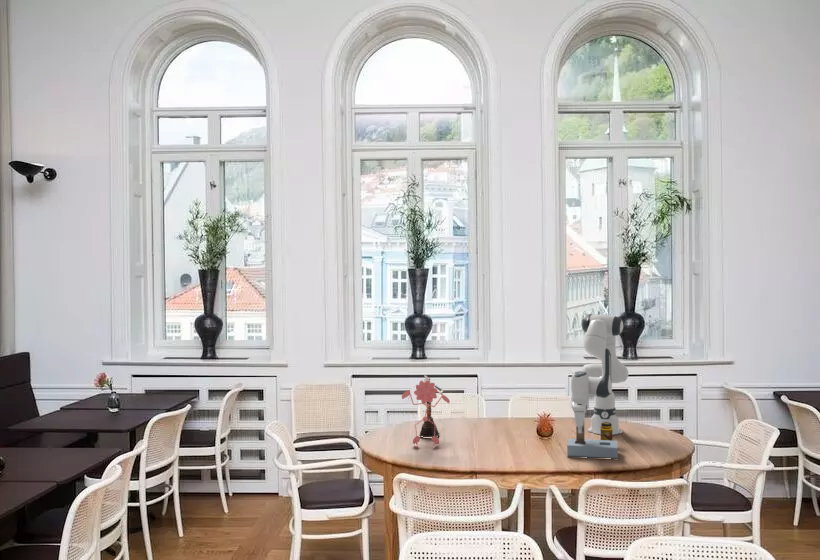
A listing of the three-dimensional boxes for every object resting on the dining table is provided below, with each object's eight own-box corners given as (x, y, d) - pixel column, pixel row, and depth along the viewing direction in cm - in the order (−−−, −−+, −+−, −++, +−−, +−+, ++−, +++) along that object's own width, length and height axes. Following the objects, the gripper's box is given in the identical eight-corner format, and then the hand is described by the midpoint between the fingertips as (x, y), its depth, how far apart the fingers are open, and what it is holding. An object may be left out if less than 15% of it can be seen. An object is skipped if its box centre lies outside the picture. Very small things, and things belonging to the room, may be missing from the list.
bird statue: (448, 433, 406) (447, 372, 405) (448, 438, 393) (447, 375, 392) (419, 433, 407) (418, 372, 406) (418, 438, 394) (417, 376, 393)
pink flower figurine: (449, 449, 371) (448, 382, 370) (401, 448, 374) (399, 382, 373) (451, 441, 386) (451, 377, 385) (404, 441, 390) (403, 377, 389)
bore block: (568, 449, 366) (568, 438, 366) (617, 452, 360) (617, 440, 360) (567, 457, 353) (567, 445, 353) (617, 460, 347) (617, 448, 346)
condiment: (610, 448, 369) (610, 425, 369) (594, 446, 374) (594, 423, 373) (615, 445, 375) (615, 422, 375) (599, 442, 380) (599, 420, 379)
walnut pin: (576, 442, 360) (576, 415, 360) (584, 442, 359) (584, 415, 359) (576, 444, 357) (575, 416, 356) (584, 444, 355) (584, 417, 355)
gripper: (574, 400, 368) (574, 426, 369) (572, 408, 349) (573, 436, 349) (586, 400, 367) (587, 427, 367) (585, 408, 347) (586, 436, 347)
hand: (580, 431), depth 358 cm, fingers closed on walnut pin, 4 cm apart
